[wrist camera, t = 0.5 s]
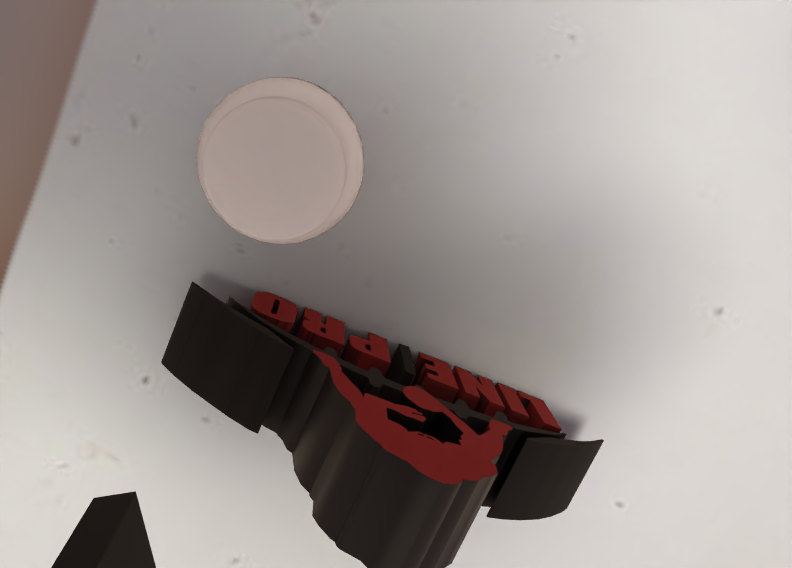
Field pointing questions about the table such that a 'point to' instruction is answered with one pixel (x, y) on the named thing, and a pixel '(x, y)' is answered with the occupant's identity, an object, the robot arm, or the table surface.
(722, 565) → the table surface
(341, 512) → the logo sign
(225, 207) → the pill bottle
